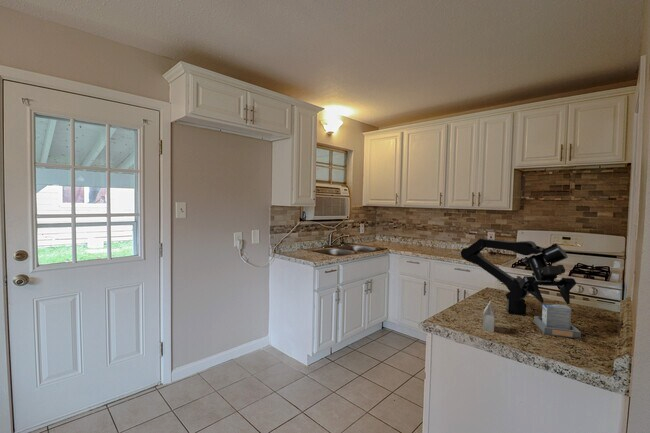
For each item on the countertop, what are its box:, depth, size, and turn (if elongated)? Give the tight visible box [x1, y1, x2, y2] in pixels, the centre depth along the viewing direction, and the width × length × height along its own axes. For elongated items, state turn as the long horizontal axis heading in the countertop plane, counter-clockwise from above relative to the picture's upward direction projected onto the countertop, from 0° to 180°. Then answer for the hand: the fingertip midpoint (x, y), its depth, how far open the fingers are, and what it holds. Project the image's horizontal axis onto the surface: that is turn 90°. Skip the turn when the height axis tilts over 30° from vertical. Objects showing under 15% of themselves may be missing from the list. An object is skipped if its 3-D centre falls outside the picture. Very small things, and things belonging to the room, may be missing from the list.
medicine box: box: [541, 302, 572, 330], centre depth 120 cm, size 8×4×9 cm, turn 74°
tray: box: [533, 315, 582, 340], centre depth 120 cm, size 11×13×2 cm
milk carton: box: [482, 300, 496, 333], centre depth 121 cm, size 4×7×10 cm, turn 149°
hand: (555, 303), depth 120 cm, fingers open, 9 cm apart
